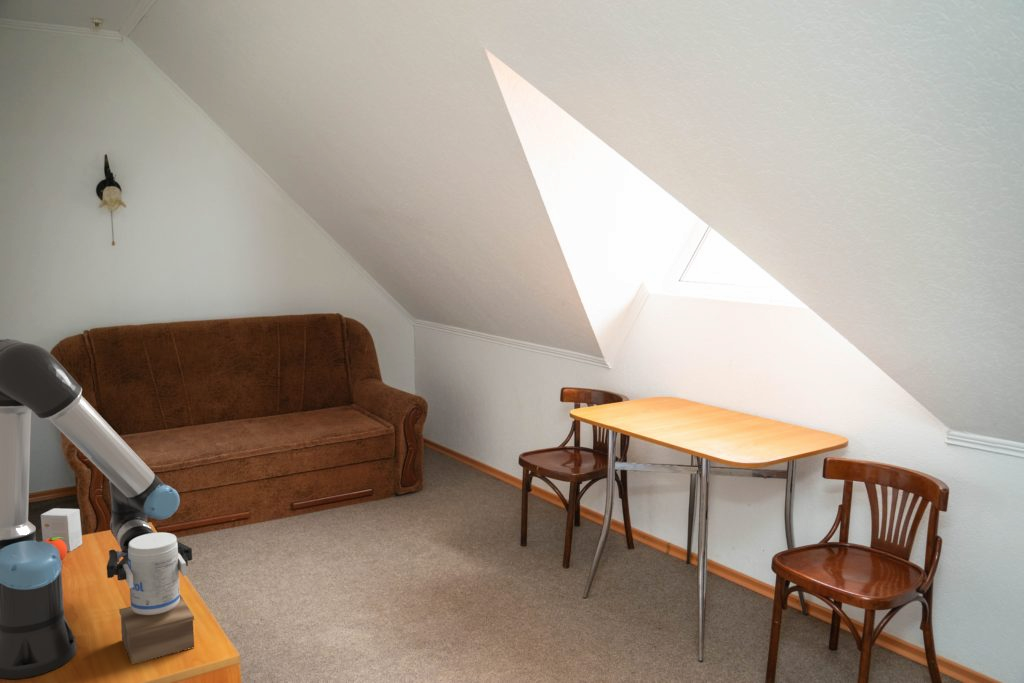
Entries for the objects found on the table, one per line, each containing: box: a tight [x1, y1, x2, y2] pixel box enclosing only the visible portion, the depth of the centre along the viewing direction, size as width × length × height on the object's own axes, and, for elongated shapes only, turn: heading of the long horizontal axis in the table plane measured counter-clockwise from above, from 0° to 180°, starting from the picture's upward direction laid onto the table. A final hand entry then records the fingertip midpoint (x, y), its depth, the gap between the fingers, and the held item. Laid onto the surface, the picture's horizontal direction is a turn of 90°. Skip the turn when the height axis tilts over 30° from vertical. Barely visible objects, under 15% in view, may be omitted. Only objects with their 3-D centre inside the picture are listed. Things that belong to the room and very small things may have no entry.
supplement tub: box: [128, 532, 181, 615], centre depth 167 cm, size 10×10×15 cm
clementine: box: [44, 537, 69, 562], centre depth 210 cm, size 8×7×7 cm
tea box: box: [118, 594, 195, 665], centre depth 169 cm, size 12×12×7 cm
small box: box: [40, 507, 83, 553], centre depth 221 cm, size 8×6×10 cm
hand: (158, 575), depth 163 cm, fingers closed on supplement tub, 9 cm apart
